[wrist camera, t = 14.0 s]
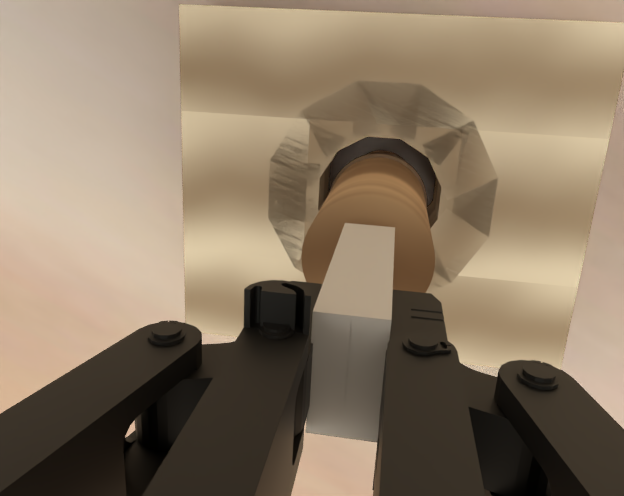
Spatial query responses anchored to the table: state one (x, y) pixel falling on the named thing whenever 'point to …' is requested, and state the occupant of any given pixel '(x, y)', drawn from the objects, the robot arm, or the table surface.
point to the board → (414, 131)
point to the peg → (375, 218)
